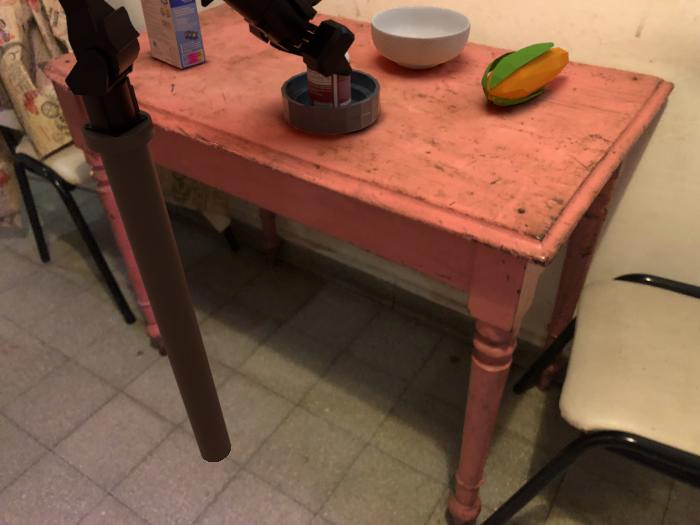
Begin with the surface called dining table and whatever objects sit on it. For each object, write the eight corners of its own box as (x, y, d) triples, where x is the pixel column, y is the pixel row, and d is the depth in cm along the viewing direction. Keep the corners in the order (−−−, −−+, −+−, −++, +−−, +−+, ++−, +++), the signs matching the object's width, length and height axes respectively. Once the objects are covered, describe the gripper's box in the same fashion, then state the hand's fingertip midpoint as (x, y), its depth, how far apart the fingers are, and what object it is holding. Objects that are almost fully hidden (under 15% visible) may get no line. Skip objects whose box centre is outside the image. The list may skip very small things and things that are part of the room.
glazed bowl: (353, 146, 81) (352, 116, 78) (265, 127, 86) (262, 97, 83) (394, 104, 90) (395, 76, 87) (313, 89, 95) (311, 62, 92)
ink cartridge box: (208, 61, 106) (192, -26, 97) (183, 70, 103) (164, -19, 94) (177, 49, 111) (159, -35, 102) (151, 57, 108) (130, -29, 99)
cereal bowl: (449, 86, 95) (453, 42, 90) (355, 72, 100) (354, 29, 96) (478, 50, 107) (482, 9, 102) (392, 39, 112) (393, -1, 108)
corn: (471, 55, 84) (550, 21, 94) (463, 104, 89) (539, 67, 99) (514, 73, 80) (592, 35, 90) (503, 123, 85) (578, 82, 95)
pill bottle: (342, 99, 91) (340, 26, 84) (357, 116, 86) (357, 40, 79) (303, 106, 89) (298, 32, 82) (317, 124, 84) (313, 47, 77)
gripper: (339, -46, 65) (411, 34, 77) (257, -73, 77) (331, 0, 89) (284, 42, 67) (363, 107, 78) (212, 3, 78) (291, 64, 90)
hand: (336, 65), depth 84 cm, fingers closed on pill bottle, 6 cm apart
